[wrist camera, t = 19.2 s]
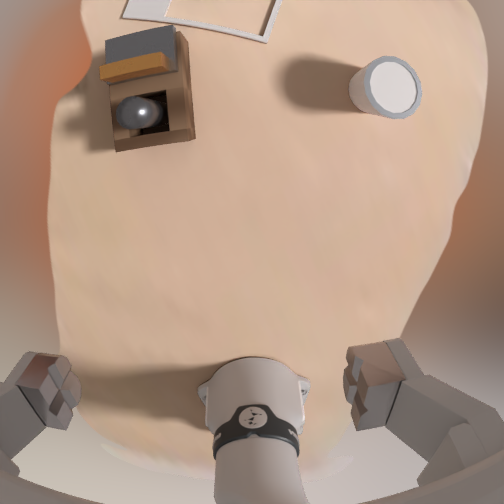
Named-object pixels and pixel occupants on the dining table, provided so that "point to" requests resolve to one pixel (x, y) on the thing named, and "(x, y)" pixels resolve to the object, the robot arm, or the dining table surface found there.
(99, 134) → the dining table surface
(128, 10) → the photo frame
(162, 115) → the peg
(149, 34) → the bar
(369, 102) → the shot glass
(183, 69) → the dock
